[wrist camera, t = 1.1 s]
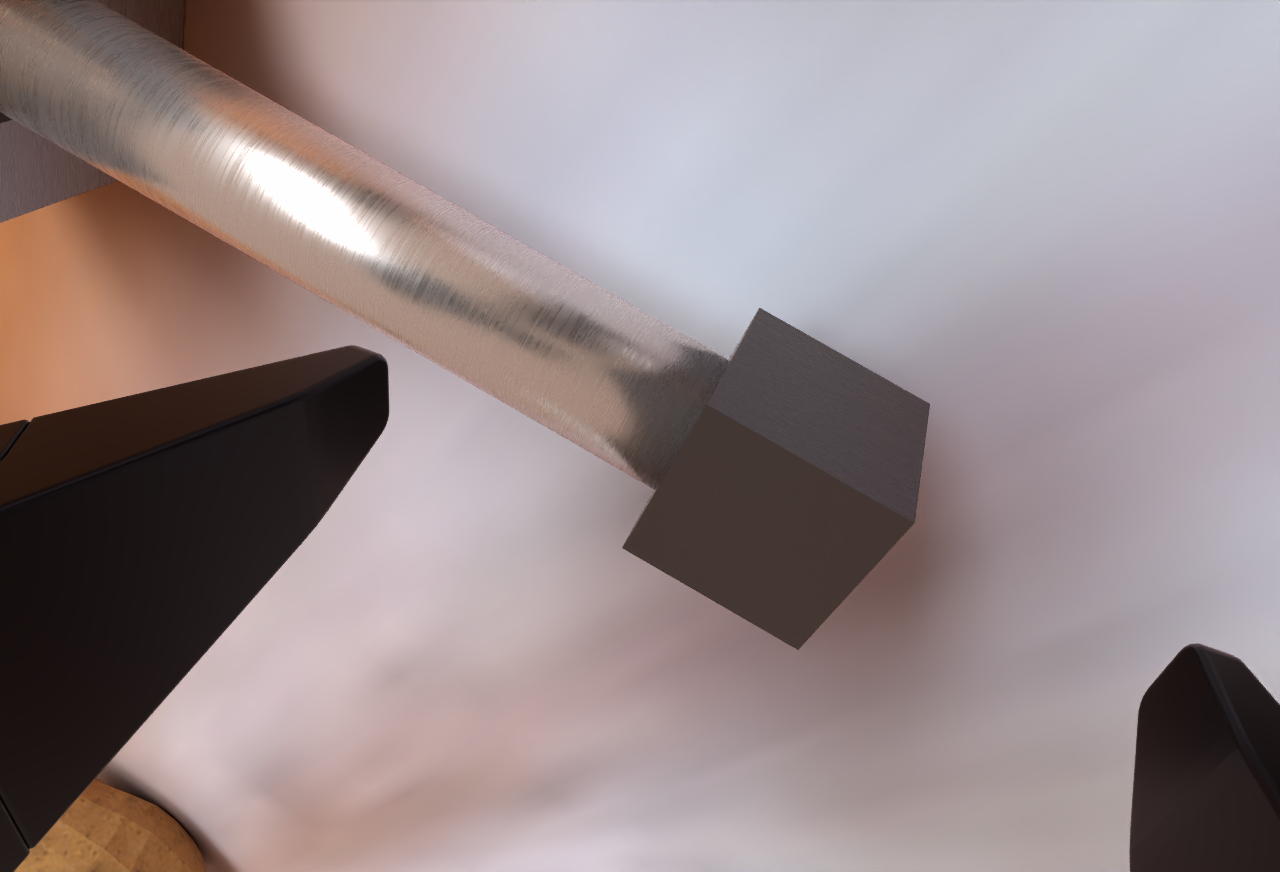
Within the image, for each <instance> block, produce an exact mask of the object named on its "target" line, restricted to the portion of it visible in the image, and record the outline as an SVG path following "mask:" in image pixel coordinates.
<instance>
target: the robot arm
mask: <svg viewBox="0 0 1280 872" xmlns="http://www.w3.org/2000/svg"><path fill="white" fill-rule="evenodd" d="M388 417H389V384H388V364H387V362H386V359H385V358H384V357H383V356H382V355H380V354H378V353H375V352H373V351H370V350H367V349H364V348H361V347H358V346H353V345H350V346H345V347H341V348H336V349H332V350H328V351H323V352H319V353H314V354H310V355H306V356H301V357H297V358H293V359H288V360H284V361H279V362H275V363H271V364H266V365H262V366H258V367H253V368H249V369H244V370H240V371H236V372H231V373H227V374H223V375H218V376H214V377H209V378H205V379H201V380H196V381H192V382H188V383H183V384H179V385H174V386H170V387H166V388H161V389H157V390H153V391H148V392H144V393H140V394H135V395H131V396H126V397H122V398H118V399H113V400H109V401H105V402H100V403H96V404H91V405H87V406H83V407H78V408H74V409H70V410H65V411H61V412H56V413H52V414H48V415H43V416H39V417H35V418H33V419H32V420H31V422H29V421H28V420H21V421H16V422H12V423H8V424H3V425H0V872H14V871H15V870H16V869H17V868H18V867H19V865H20V864H21V863H22V862H23V861H24V860H25V859H26V857H27V856H28V855H29V854H30V849H32V848H34V847H35V846H36V845H37V844H38V843H39V842H40V841H41V840H42V838H43V837H44V836H45V835H46V834H47V833H48V832H49V830H50V829H51V828H52V827H53V826H54V825H55V824H56V822H57V821H58V820H59V819H60V818H61V817H62V816H63V814H64V813H65V812H66V811H67V810H68V809H69V808H70V807H71V805H72V804H73V803H74V802H75V801H76V800H77V799H78V797H79V796H80V795H81V794H82V793H83V792H84V791H85V789H86V788H87V787H88V786H89V785H90V784H91V783H92V781H93V780H94V779H95V778H96V777H97V776H98V775H99V773H100V772H101V771H102V770H103V769H104V768H105V767H106V766H107V764H108V763H109V762H110V761H111V760H112V759H113V758H114V756H115V755H116V754H117V753H118V752H119V751H120V750H121V748H122V747H123V746H124V745H125V744H126V743H127V742H128V740H129V739H130V738H131V737H132V736H133V735H134V734H135V733H136V731H137V730H138V729H139V728H140V727H141V726H142V725H143V723H144V722H145V721H146V720H147V719H148V718H149V717H150V715H151V714H152V713H153V712H154V711H155V710H156V709H157V707H158V706H159V705H160V704H161V703H162V702H163V701H164V700H165V698H166V697H167V696H168V695H169V694H170V693H171V692H172V690H173V689H174V688H175V687H176V686H177V685H178V684H179V682H180V681H181V680H182V679H183V678H184V677H185V676H186V674H187V673H188V672H189V671H190V670H191V669H192V668H193V667H194V665H195V664H196V663H197V662H198V661H199V660H200V659H201V657H202V656H203V655H204V654H205V653H206V652H207V651H208V649H209V648H210V647H211V646H212V645H213V644H214V643H215V641H216V640H217V639H218V638H219V637H220V636H221V635H222V633H223V632H224V631H225V630H226V629H227V628H228V627H229V626H230V624H231V623H232V622H233V621H234V620H235V619H236V618H237V616H238V615H239V614H240V613H241V612H242V611H243V610H244V608H245V607H246V606H247V605H248V604H249V603H250V602H251V600H252V599H253V598H254V597H255V596H256V595H257V594H258V593H259V591H260V590H261V589H262V588H263V587H264V586H265V585H266V583H267V582H268V581H269V580H270V579H271V578H272V577H273V575H274V574H275V573H276V572H277V571H278V570H279V569H280V567H281V566H282V565H283V564H284V563H285V562H286V561H287V560H288V558H289V557H290V556H291V555H292V554H293V553H294V552H295V550H296V549H297V548H298V547H299V546H300V545H301V544H302V542H303V541H304V540H305V539H306V538H307V537H308V535H309V534H310V533H311V532H312V531H313V529H314V528H315V527H316V526H317V525H318V523H319V522H320V520H321V519H322V518H323V516H324V515H325V514H326V512H327V511H328V510H329V508H330V507H331V505H332V504H333V503H334V501H335V500H336V498H337V497H338V495H339V494H340V493H341V491H342V490H343V488H344V487H345V485H346V484H347V482H348V481H349V480H350V478H351V477H352V475H353V474H354V472H355V471H356V470H357V468H358V467H359V465H360V464H361V462H362V461H363V460H364V458H365V457H366V455H367V454H368V452H369V451H370V449H371V448H372V447H373V445H374V444H375V442H376V441H377V439H378V438H379V437H380V435H381V434H382V432H383V430H384V428H385V426H386V424H387V421H388ZM1130 872H1280V705H1279V703H1278V702H1277V701H1276V700H1275V699H1274V698H1273V696H1272V695H1271V694H1270V693H1269V692H1268V691H1267V690H1266V688H1265V687H1264V686H1263V685H1262V684H1261V683H1260V681H1259V680H1258V679H1257V678H1256V677H1255V676H1254V674H1253V673H1252V672H1251V671H1250V670H1249V669H1248V668H1247V666H1246V665H1245V664H1244V663H1243V662H1242V661H1241V660H1240V659H1238V658H1237V657H1235V656H1233V655H1230V654H1228V653H1225V652H1222V651H1219V650H1216V649H1213V648H1211V647H1208V646H1205V645H1202V644H1189V645H1188V646H1186V647H1184V648H1183V649H1182V650H1181V651H1180V652H1179V653H1178V654H1177V655H1176V657H1175V658H1174V659H1173V660H1172V661H1171V662H1170V664H1169V665H1168V666H1167V667H1166V668H1165V670H1164V671H1163V672H1162V673H1161V674H1160V675H1159V677H1158V678H1157V679H1156V680H1155V681H1154V682H1153V684H1152V685H1151V686H1150V687H1149V688H1148V690H1147V691H1146V693H1145V694H1144V696H1143V698H1142V701H1141V704H1140V708H1139V713H1138V725H1137V740H1136V754H1135V769H1134V783H1133V798H1132V812H1131V826H1130Z"/></svg>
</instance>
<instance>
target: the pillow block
mask: <svg viewBox="0 0 1280 872" xmlns="http://www.w3.org/2000/svg"><path fill="white" fill-rule="evenodd" d="M96 1H98V2H100V3H101V4H103V5H105V6H107V7H109V8H110V9H112V10H114V11H116V12H117V13H119V14H121V15H123V16H124V17H126V18H128V19H130V20H131V21H133V22H135V23H137V24H138V25H140V26H142V27H144V28H145V29H147V30H149V31H151V32H152V33H154V34H156V35H158V36H159V37H161V38H163V39H165V40H167V41H168V42H170V43H172V44H174V45H175V46H177V47H179V48H181V49H182V48H183V22H184V0H96ZM115 181H118V180H117V179H115V178H113V177H112V176H110V175H108V174H106V173H105V172H103V171H101V170H99V169H98V168H96V167H94V166H92V165H91V164H89V163H87V162H85V161H84V160H82V159H80V158H79V157H77V156H75V155H73V154H72V153H70V152H68V151H66V150H65V149H63V148H61V147H59V146H58V145H56V144H54V143H53V142H51V141H49V140H47V139H46V138H44V137H42V136H40V135H39V134H37V133H35V132H33V131H32V130H30V129H28V128H26V127H25V126H23V125H21V124H20V123H18V122H16V121H14V120H13V119H11V118H9V117H7V116H6V115H4V114H2V113H0V223H1V222H4V221H7V220H10V219H12V218H15V217H18V216H21V215H24V214H26V213H29V212H32V211H35V210H37V209H40V208H43V207H46V206H48V205H51V204H54V203H57V202H60V201H62V200H65V199H68V198H71V197H73V196H76V195H79V194H82V193H85V192H87V191H90V190H93V189H96V188H98V187H101V186H104V185H107V184H110V183H112V182H115Z"/></svg>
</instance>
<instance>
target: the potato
mask: <svg viewBox="0 0 1280 872" xmlns="http://www.w3.org/2000/svg"><path fill="white" fill-rule="evenodd" d="M14 872H206V869H205V865H204V861H203V858H202V854H201V852H200V851H199V849H198V848H197V846H196V844H195V843H194V841H193V840H192V838H191V837H190V836H189V835H188V834H187V832H186V831H185V830H184V829H183V828H182V827H181V826H180V825H179V823H178V822H177V821H176V820H174V819H173V818H172V817H171V816H169V815H168V814H167V813H166V812H164V811H163V810H162V809H161V808H159V807H158V806H157V805H155V804H152V803H150V802H148V801H145V800H143V799H141V798H138V797H136V796H134V795H131V794H129V793H126V792H123V791H121V790H118V789H115V788H113V787H110V786H108V785H106V784H104V783H103V782H101V781H99V780H98V779H94V780H93V781H92V783H91V784H90V785H89V786H88V787H87V788H86V789H85V791H84V792H83V793H82V794H81V795H80V796H79V797H78V799H77V800H76V801H75V802H74V803H73V804H72V805H71V807H70V808H69V809H68V810H67V811H66V812H65V813H64V814H63V816H62V817H61V818H60V819H59V820H58V821H57V822H56V824H55V825H54V826H53V827H52V828H51V829H50V830H49V832H48V833H47V834H46V835H45V836H44V837H43V838H42V840H41V841H40V842H39V843H38V844H37V845H36V846H35V847H34V848H32V849H30V854H29V855H28V856H27V857H26V859H25V860H24V861H23V862H22V863H21V864H20V865H19V867H18V868H17V869H16V870H15V871H14Z"/></svg>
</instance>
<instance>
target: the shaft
mask: <svg viewBox="0 0 1280 872" xmlns="http://www.w3.org/2000/svg"><path fill="white" fill-rule="evenodd" d="M0 113H2V114H4V115H6V116H7V117H9V118H11V119H13V120H14V121H16V122H18V123H20V124H21V125H23V126H25V127H26V128H28V129H30V130H32V131H33V132H35V133H37V134H39V135H40V136H42V137H44V138H46V139H47V140H49V141H51V142H53V143H54V144H56V145H58V146H59V147H61V148H63V149H65V150H66V151H68V152H70V153H72V154H73V155H75V156H77V157H79V158H80V159H82V160H84V161H85V162H87V163H89V164H91V165H92V166H94V167H96V168H98V169H99V170H101V171H103V172H105V173H106V174H108V175H110V176H112V177H113V178H115V179H117V180H118V181H120V182H122V183H124V184H125V185H127V186H129V187H131V188H132V189H134V190H136V191H138V192H139V193H141V194H143V195H144V196H146V197H148V198H150V199H151V200H153V201H155V202H157V203H158V204H160V205H162V206H164V207H165V208H167V209H169V210H171V211H172V212H174V213H176V214H177V215H179V216H181V217H183V218H184V219H186V220H188V221H190V222H191V223H193V224H195V225H197V226H198V227H200V228H202V229H203V230H205V231H207V232H209V233H210V234H212V235H214V236H216V237H217V238H219V239H221V240H223V241H224V242H226V243H228V244H230V245H231V246H233V247H235V248H236V249H238V250H240V251H242V252H243V253H245V254H247V255H249V256H250V257H252V258H254V259H256V260H257V261H259V262H261V263H262V264H264V265H266V266H268V267H269V268H271V269H273V270H275V271H276V272H278V273H280V274H282V275H283V276H285V277H287V278H289V279H290V280H292V281H294V282H295V283H297V284H299V285H301V286H302V287H304V288H306V289H308V290H309V291H311V292H313V293H315V294H316V295H318V296H320V297H321V298H323V299H325V300H327V301H328V302H330V303H332V304H334V305H335V306H337V307H339V308H341V309H342V310H344V311H346V312H348V313H349V314H351V315H353V316H354V317H356V318H358V319H360V320H361V321H363V322H365V323H367V324H368V325H370V326H372V327H374V328H375V329H377V330H379V331H380V332H382V333H384V334H386V335H387V336H389V337H391V338H393V339H394V340H396V341H398V342H400V343H401V344H403V345H405V346H407V347H408V348H410V349H412V350H413V351H415V352H417V353H419V354H420V355H422V356H424V357H426V358H427V359H429V360H431V361H433V362H434V363H436V364H438V365H439V366H441V367H443V368H445V369H446V370H448V371H450V372H452V373H453V374H455V375H457V376H459V377H460V378H462V379H464V380H466V381H467V382H469V383H471V384H472V385H474V386H476V387H478V388H479V389H481V390H483V391H485V392H486V393H488V394H490V395H492V396H493V397H495V398H497V399H498V400H500V401H502V402H504V403H505V404H507V405H509V406H511V407H512V408H514V409H516V410H518V411H519V412H521V413H523V414H525V415H526V416H528V417H530V418H531V419H533V420H535V421H537V422H538V423H540V424H542V425H544V426H545V427H547V428H549V429H551V430H552V431H554V432H556V433H557V434H559V435H561V436H563V437H564V438H566V439H568V440H570V441H571V442H573V443H575V444H577V445H578V446H580V447H582V448H584V449H585V450H587V451H589V452H590V453H592V454H594V455H596V456H597V457H599V458H601V459H603V460H604V461H606V462H608V463H610V464H611V465H613V466H615V467H616V468H618V469H620V470H622V471H623V472H625V473H627V474H629V475H630V476H632V477H634V478H636V479H637V480H639V481H641V482H643V483H644V484H646V485H648V486H649V487H651V488H653V489H654V491H653V493H652V495H651V497H650V498H649V500H648V502H647V504H646V506H645V507H644V509H643V511H642V513H641V515H640V517H639V518H638V520H637V522H636V524H635V526H634V527H633V529H632V531H631V533H630V535H629V536H628V538H627V540H626V542H625V544H624V546H623V547H622V548H623V549H625V550H627V551H628V552H630V553H632V554H634V555H635V556H637V557H639V558H640V559H642V560H644V561H646V562H647V563H649V564H651V565H653V566H654V567H656V568H658V569H659V570H661V571H663V572H665V573H666V574H668V575H670V576H672V577H673V578H675V579H677V580H678V581H680V582H682V583H684V584H685V585H687V586H689V587H690V588H692V589H694V590H696V591H697V592H699V593H701V594H703V595H704V596H706V597H708V598H709V599H711V600H713V601H715V602H716V603H718V604H720V605H722V606H723V607H725V608H727V609H728V610H730V611H732V612H734V613H735V614H737V615H739V616H741V617H742V618H744V619H746V620H747V621H749V622H751V623H753V624H754V625H756V626H758V627H760V628H761V629H763V630H765V631H766V632H768V633H770V634H772V635H773V636H775V637H777V638H778V639H780V640H782V641H784V642H785V643H787V644H789V645H791V646H792V647H794V648H796V649H797V650H798V649H799V648H800V647H801V646H802V645H803V644H804V643H805V642H806V641H807V640H808V638H809V637H810V636H811V635H812V634H813V633H814V632H815V631H816V630H817V629H818V628H819V626H820V625H821V624H822V623H823V622H824V621H825V620H826V619H827V618H828V617H829V616H830V614H831V613H832V612H833V611H834V610H835V609H836V608H837V607H838V606H839V605H840V604H841V602H842V601H843V600H844V599H845V598H846V597H847V596H848V595H849V594H850V593H851V592H852V590H853V589H854V588H855V587H856V586H857V585H858V584H859V583H860V582H861V581H862V580H863V578H864V577H865V576H866V575H867V574H868V573H869V572H870V571H871V570H872V569H873V568H874V566H875V565H876V564H877V563H878V562H879V561H880V560H881V559H882V558H883V557H884V556H885V555H886V553H887V552H888V551H889V550H890V549H891V548H892V547H893V546H894V545H895V544H896V543H897V541H898V540H899V539H900V538H901V537H902V536H903V535H904V534H905V533H906V532H907V531H908V529H909V528H910V527H911V526H912V525H913V524H914V523H915V515H916V507H917V500H918V492H919V484H920V477H921V469H922V461H923V453H924V446H925V438H926V430H927V423H928V415H929V407H930V404H929V403H927V402H925V401H923V400H922V399H920V398H918V397H916V396H915V395H913V394H911V393H909V392H908V391H906V390H904V389H902V388H900V387H899V386H897V385H895V384H893V383H892V382H890V381H888V380H886V379H885V378H883V377H881V376H879V375H877V374H876V373H874V372H872V371H870V370H869V369H867V368H865V367H863V366H862V365H860V364H858V363H856V362H855V361H853V360H851V359H849V358H847V357H846V356H844V355H842V354H840V353H839V352H837V351H835V350H833V349H832V348H830V347H828V346H826V345H824V344H823V343H821V342H819V341H817V340H816V339H814V338H812V337H810V336H809V335H807V334H805V333H803V332H802V331H800V330H798V329H796V328H794V327H793V326H791V325H789V324H787V323H786V322H784V321H782V320H780V319H779V318H777V317H775V316H773V315H771V314H770V313H768V312H766V311H764V310H763V309H761V308H759V310H758V311H757V313H756V315H755V316H754V318H753V320H752V321H751V323H750V325H749V327H748V328H747V330H746V332H745V333H744V335H743V337H742V338H741V340H740V342H739V344H738V345H737V347H736V349H735V350H734V352H733V354H732V355H731V357H730V359H729V360H727V359H725V358H724V357H722V356H720V355H718V354H717V353H715V352H713V351H711V350H710V349H708V348H706V347H704V346H703V345H701V344H699V343H697V342H696V341H694V340H692V339H690V338H689V337H687V336H685V335H683V334H681V333H680V332H678V331H676V330H674V329H673V328H671V327H669V326H667V325H666V324H664V323H662V322H660V321H659V320H657V319H655V318H653V317H652V316H650V315H648V314H646V313H645V312H643V311H641V310H639V309H638V308H636V307H634V306H632V305H631V304H629V303H627V302H625V301H623V300H622V299H620V298H618V297H616V296H615V295H613V294H611V293H609V292H608V291H606V290H604V289H602V288H601V287H599V286H597V285H595V284H594V283H592V282H590V281H588V280H587V279H585V278H583V277H581V276H580V275H578V274H576V273H574V272H573V271H571V270H569V269H567V268H565V267H564V266H562V265H560V264H558V263H557V262H555V261H553V260H551V259H550V258H548V257H546V256H544V255H543V254H541V253H539V252H537V251H536V250H534V249H532V248H530V247H529V246H527V245H525V244H523V243H522V242H520V241H518V240H516V239H515V238H513V237H511V236H509V235H507V234H506V233H504V232H502V231H500V230H499V229H497V228H495V227H493V226H492V225H490V224H488V223H486V222H485V221H483V220H481V219H479V218H478V217H476V216H474V215H472V214H471V213H469V212H467V211H465V210H464V209H462V208H460V207H458V206H457V205H455V204H453V203H451V202H449V201H448V200H446V199H444V198H442V197H441V196H439V195H437V194H435V193H434V192H432V191H430V190H428V189H427V188H425V187H423V186H421V185H420V184H418V183H416V182H414V181H413V180H411V179H409V178H407V177H406V176H404V175H402V174H400V173H399V172H397V171H395V170H393V169H391V168H390V167H388V166H386V165H384V164H383V163H381V162H379V161H377V160H376V159H374V158H372V157H370V156H369V155H367V154H365V153H363V152H362V151H360V150H358V149H356V148H355V147H353V146H351V145H349V144H348V143H346V142H344V141H342V140H341V139H339V138H337V137H335V136H333V135H332V134H330V133H328V132H326V131H325V130H323V129H321V128H319V127H318V126H316V125H314V124H312V123H311V122H309V121H307V120H305V119H304V118H302V117H300V116H298V115H297V114H295V113H293V112H291V111H290V110H288V109H286V108H284V107H283V106H281V105H279V104H277V103H275V102H274V101H272V100H270V99H268V98H267V97H265V96H263V95H261V94H260V93H258V92H256V91H254V90H253V89H251V88H249V87H247V86H246V85H244V84H242V83H240V82H239V81H237V80H235V79H233V78H232V77H230V76H228V75H226V74H225V73H223V72H221V71H219V70H217V69H216V68H214V67H212V66H210V65H209V64H207V63H205V62H203V61H202V60H200V59H198V58H196V57H195V56H193V55H191V54H189V53H188V52H186V51H184V50H182V49H181V48H179V47H177V46H175V45H174V44H172V43H170V42H168V41H167V40H165V39H163V38H161V37H159V36H158V35H156V34H154V33H152V32H151V31H149V30H147V29H145V28H144V27H142V26H140V25H138V24H137V23H135V22H133V21H131V20H130V19H128V18H126V17H124V16H123V15H121V14H119V13H117V12H116V11H114V10H112V9H110V8H109V7H107V6H105V5H103V4H101V3H100V2H98V1H96V0H0Z"/></svg>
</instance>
